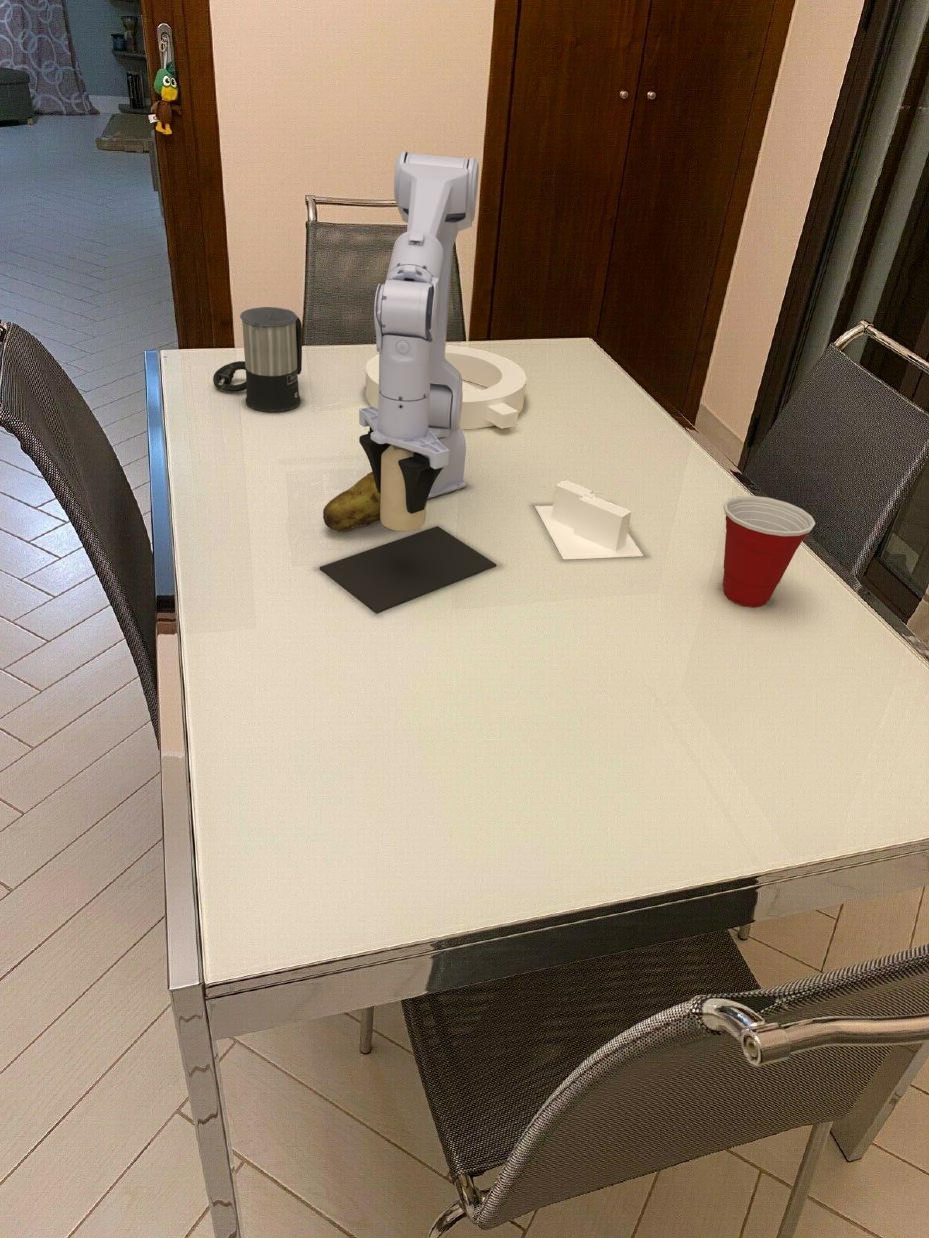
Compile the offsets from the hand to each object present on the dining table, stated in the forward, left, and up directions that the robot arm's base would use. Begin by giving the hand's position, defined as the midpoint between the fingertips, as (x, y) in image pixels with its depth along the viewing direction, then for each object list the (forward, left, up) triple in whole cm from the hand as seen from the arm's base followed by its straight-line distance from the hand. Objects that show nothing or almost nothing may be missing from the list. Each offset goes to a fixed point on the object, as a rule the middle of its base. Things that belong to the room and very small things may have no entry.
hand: (400, 500), depth 113 cm
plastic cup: (-33, +29, -10) cm, 45 cm away
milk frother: (-14, -59, -10) cm, 61 cm away
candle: (0, 0, -3) cm, 3 cm away
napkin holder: (-28, +6, -10) cm, 30 cm away
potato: (-4, -12, -10) cm, 16 cm away
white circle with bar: (-42, -42, -10) cm, 60 cm away
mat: (-2, 0, -10) cm, 10 cm away
